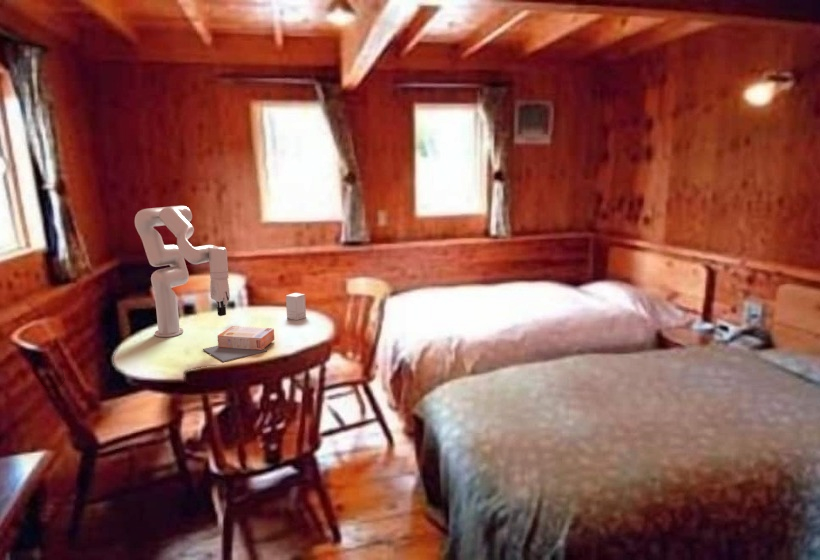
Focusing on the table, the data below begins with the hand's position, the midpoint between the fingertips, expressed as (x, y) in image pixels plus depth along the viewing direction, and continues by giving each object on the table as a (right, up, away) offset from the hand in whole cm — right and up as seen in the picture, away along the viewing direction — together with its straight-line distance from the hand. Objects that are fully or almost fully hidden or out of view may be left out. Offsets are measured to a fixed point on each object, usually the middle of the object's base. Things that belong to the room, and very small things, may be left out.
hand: (222, 315), depth 251 cm
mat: (+7, -15, -5) cm, 18 cm away
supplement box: (+24, -4, +47) cm, 53 cm away
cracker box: (0, -10, +4) cm, 11 cm away
